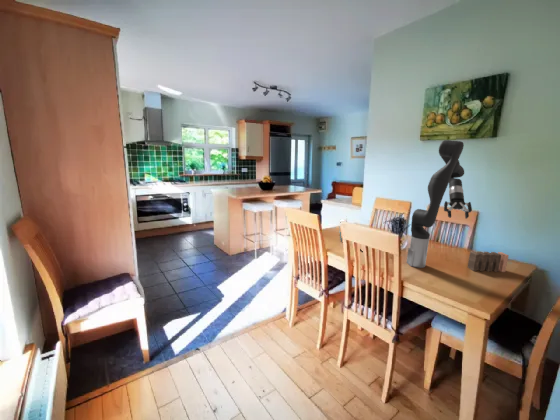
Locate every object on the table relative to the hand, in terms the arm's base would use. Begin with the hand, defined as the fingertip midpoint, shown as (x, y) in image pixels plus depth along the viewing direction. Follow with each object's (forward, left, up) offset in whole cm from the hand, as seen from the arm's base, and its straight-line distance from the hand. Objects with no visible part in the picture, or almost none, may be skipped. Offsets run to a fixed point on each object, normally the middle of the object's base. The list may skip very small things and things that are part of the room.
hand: (458, 217), depth 162 cm
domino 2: (+7, -14, -27) cm, 31 cm away
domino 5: (+19, -14, -27) cm, 36 cm away
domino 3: (+11, -14, -27) cm, 33 cm away
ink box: (-59, +48, -28) cm, 81 cm away
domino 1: (+3, -14, -27) cm, 31 cm away
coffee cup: (-61, +32, -27) cm, 74 cm away
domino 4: (+15, -14, -27) cm, 34 cm away
